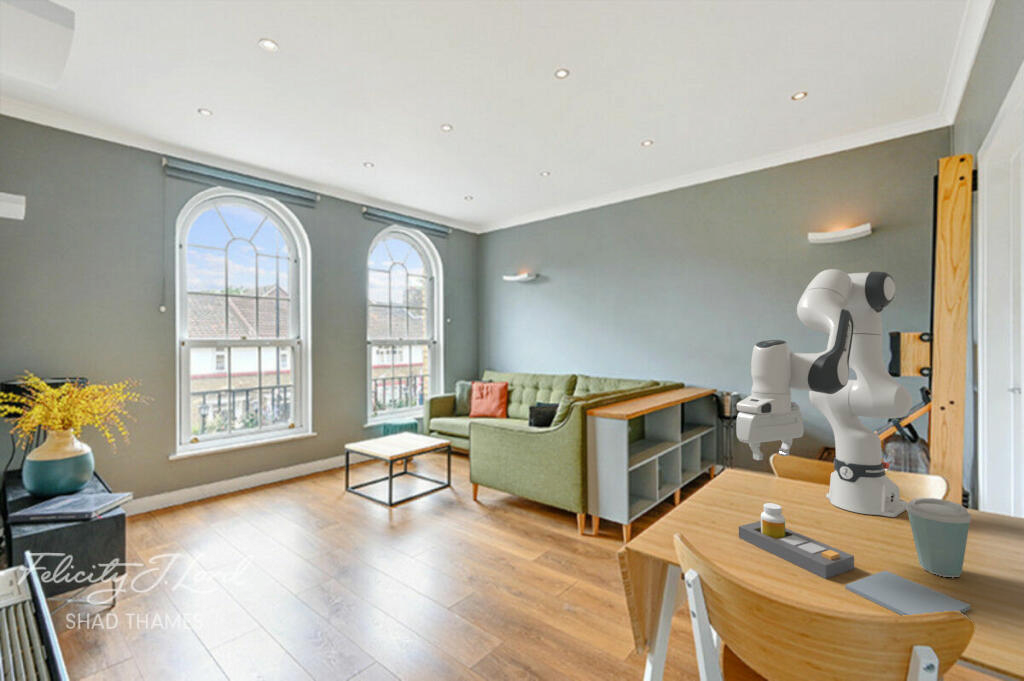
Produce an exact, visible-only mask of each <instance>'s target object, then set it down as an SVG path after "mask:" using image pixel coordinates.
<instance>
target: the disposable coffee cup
mask: <svg viewBox="0 0 1024 681" xmlns="http://www.w3.org/2000/svg"><path fill="white" fill-rule="evenodd" d="M905 511H907V516H908V520H909V524H910V529H911V532H912V537H913V540H914V545H915V550H916V553H917V554H916V555H917V558H918V563H919V565H920V567H921V566H922V567H923V568H924V569H925V570H927V571H929V572H931V573H933V574H936V575H935V576H937V575H939V576H938V577H941V576H943V577H942V578H945V577H952V578H951V579H954V578H953V577H959V578H960V576H961V575H962V573H963V567H964V561H965V555H966V554H965V553H966V548H967V541H968V536H969V535H968V534H969V528H970V524H971V521H972V520H973V519H972V515H971V513H969V512H968V508H966V507H965V506H963V505H962V504H961V503H956V502H954V501H950V500H946V499H940V498H935V497H917V498H912V499H911V500H910V501H909V502H908V504H907V505H906V510H905ZM922 567H921V568H922ZM923 568H922V569H923ZM924 569H923V570H924ZM925 570H924V571H925ZM927 571H926V572H927ZM929 572H928V573H929ZM931 573H930V574H931ZM933 574H932V575H933Z"/></svg>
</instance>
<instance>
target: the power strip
mask: <svg viewBox="0 0 1024 681" xmlns="http://www.w3.org/2000/svg"><path fill="white" fill-rule="evenodd" d="M738 538H739V539H740V540H742V541H745V542H747V543H749V544H751V545H754V546H755V547H757V548H760V549H761V550H764V551H766V552H767V553H770V554H773V555H774V556H776V557H778V558H780V559H782V560H785V561H787V562H789V563H791V564H793V565H795V566H798V567H800V568H801V569H804V570H806V571H807V572H810V573H812V574H814V575H816V576H818V577H821V578H823V579H825V580H827V579H830V578H833V577H836V576H839V575H841V574H844V573H847V572H850V571H853V570H855V555H854V554H853V555H852V553H851V554H850V553H847V552H845V551H843V550H840V549H838V548H835V547H833V546H830V545H828V544H825V543H823V542H821V541H818V540H816V539H814V538H810V537H808V536H806V535H804V534H801V533H798V532H797V531H793V530H791V529H788V528H786V527H785V537H783V538H780V539H774V538H772V537H769V536H767V535H765V534H763V533H761V520H759V521H758V520H757V521H755V522H750V523H746V524H743V525H739V526H738Z"/></svg>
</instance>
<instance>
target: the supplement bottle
mask: <svg viewBox="0 0 1024 681" xmlns="http://www.w3.org/2000/svg"><path fill="white" fill-rule="evenodd" d="M782 513H783V510H782V506H781V505H779V504H777V503H773V502H772V503H771V502H768V503H767V502H766V503H764V504H763V511H762V512H761V514H760V521H761V533H763V534H765V535H767V536H769V537H772V538H774V539H780V538H783V537H785V528H786V517H785V516H784V515H783V514H782Z"/></svg>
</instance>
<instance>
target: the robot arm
mask: <svg viewBox="0 0 1024 681" xmlns="http://www.w3.org/2000/svg"><path fill="white" fill-rule="evenodd" d="M895 292H896V285H895V280H894V278H893V277H892V276H891V275H890V274H889V273H888V272H885V271H870V272H853V273H852V272H851V273H847V272H845V271H843V270H841V269H837V268H836V269H835V268H832V269H831V268H829V269H825V270H822V271H820V272H819V273H818V274H816V276H815V277H814V278H813V279H812V280H811V281H810V282H809V283H808V285H807V287H806V288H805V290H804V291H803V293H802V295H801V297H800V299H799V301H798V303H797V306H796V307H797V308H796V314H797V317H798V319H799V320H800V322H801V323H802V324H803V325H804V326H806V327H807V328H809V329H811V330H812V331H813V330H814V331H816V332H820V333H824V334H827V335H829V337H828V341H827V346H826V350H824V351H821V352H817V353H811V352H810V353H809V352H807V353H806V352H805V353H804V352H802V353H801V352H793V351H791V350H789V349H790V348H789V344H788V342H787V341H786V340H781V339H772V340H762V341H759V342H757V343H755V344H754V346H753V348H752V352H751V353H752V354H751V362H750V363H751V366H750V374H751V379H752V386H751V391H750V395H748V396H747V397H746V398H743V399H742V400H740V401H738V402H737V403H736V410H737V411H738V414H736V415H737V417H736V424H735V426H736V427H735V428H736V430H735V432H736V437H737V439H738V441H739V442H741V443H744V444H748V445H749V448H750V450H751V452H752V458H753V460H756V461H761V460H764V453H763V452H761V449H760V447H761V443H766V442H767V443H768V442H777V441H781V446H780V448H778V455H779V456H781V457H789V456H790V449H791V447H792V444H793V439H799V438H803V436H804V432H805V431H804V430H805V429H804V421H803V420H804V419H803V415H802V412H801V411H800V406H799V405H798V404H797V403H796V402H795V401H792V390H796V391H805V392H806V391H808V397H809V401H810V403H811V404H812V406H813V407H814V408H815V409H817V410H818V411H819V412H820V413H821V414H822V416H824V417H825V418H826V420H827V421H828V423H829V424H830V426H831V429H832V431H833V432H832V433H833V435H834V443H835V446H834V447H835V456H834V458H833V469H834V471H832V472H831V474H830V481H829V492H826V494H825V497H826V498H827V499H828V500H829V502H830V504H832V505H833V506H835V507H837V508H840V509H842V510H845V511H850V512H852V513H857V514H858V513H859V514H863V515H873V516H874V515H875V516H883V517H889V518H896V517H898V516H899V515H900V514H901V513H903V512H905V511H907V510H906V505H907V504H908V503H909V502H908V501H906V500H904V499H901V496H900V495H901V494H900V487H899V486H898V485H897V484H896V483H895V482H894V481H893V480H892V479H890V478H889V477H888V476H887V475H886V470H889V469H890V463H889V462H885V461H882V444H881V443H882V440H881V438H880V437H879V435H878V434H877V433H876V432H875V431H874V430H872V429H870V428H868V427H866V426H865V425H864V424H863V423H862V421H861V420H860V418H859V417H865V418H875V419H880V420H881V419H882V420H883V419H887V420H888V419H901V418H904V417H905V416H906V415H907V414H908V413H909V412H910V411H911V409H912V408H913V407H912V406H913V398H912V394H911V393H910V391H909V390H908V389H907V388H906V387H905V386H903V384H901V383H899V382H898V381H897V380H895V378H894V377H893V376H892V375H891V374H890V373H889V371H888V370H887V368H886V365H885V362H884V354H883V321H882V315H881V314H882V313H881V312H883V310H884V309H885V308H886V307H887V306H888V305H889V304H891V302H892V301H893V300H894V297H895V295H896V294H895ZM850 370H853V372H855V374H856V379H849V374H850V372H849V371H850Z"/></svg>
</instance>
